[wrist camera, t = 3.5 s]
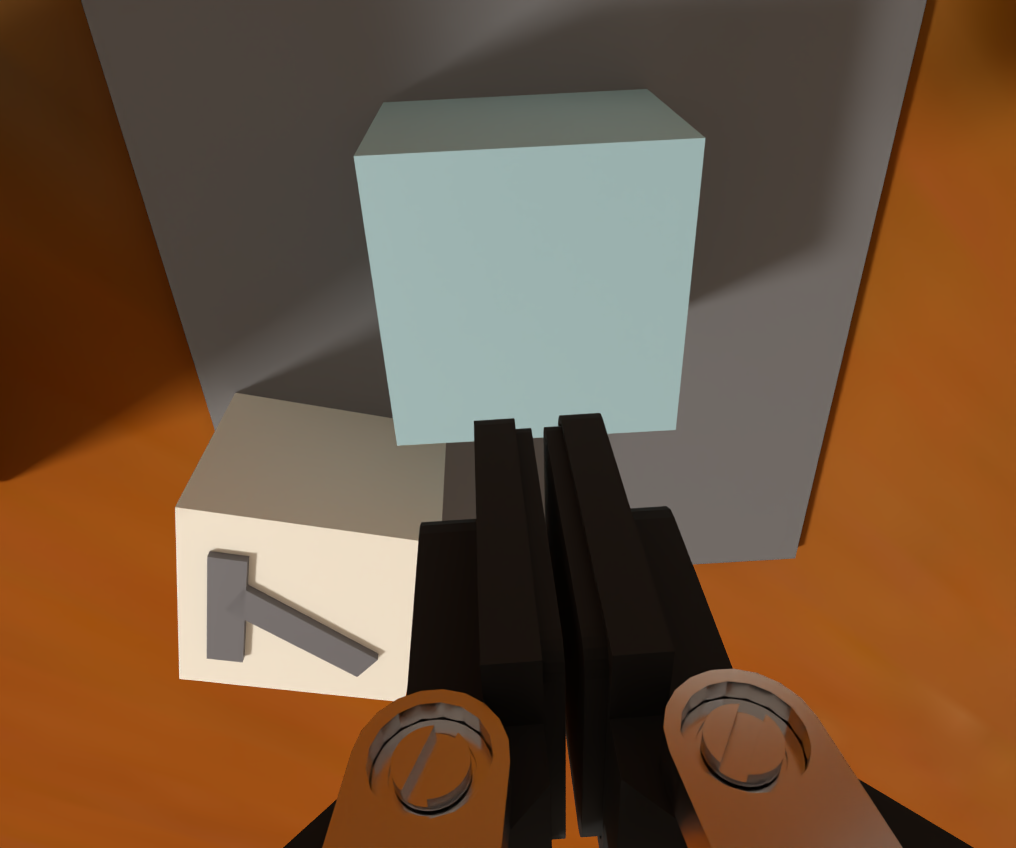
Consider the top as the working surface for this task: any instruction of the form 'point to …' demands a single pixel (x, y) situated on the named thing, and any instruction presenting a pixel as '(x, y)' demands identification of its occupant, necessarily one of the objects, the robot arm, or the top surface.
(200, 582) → the digit block seven
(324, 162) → the mat
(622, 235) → the plain block
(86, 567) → the top surface
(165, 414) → the top surface
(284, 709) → the top surface
